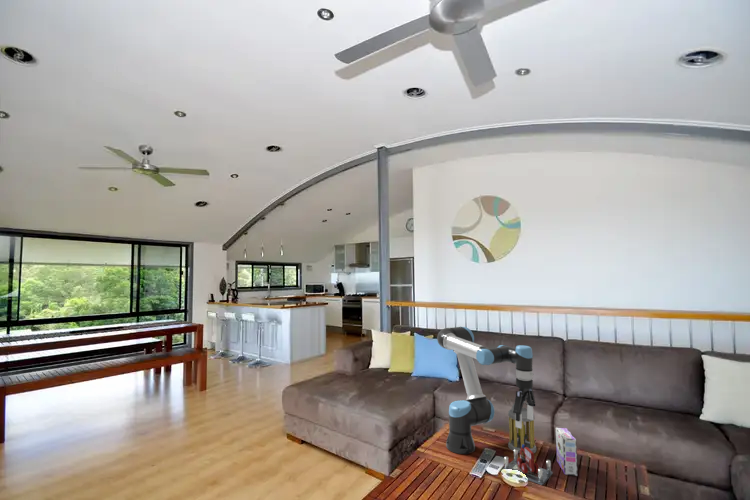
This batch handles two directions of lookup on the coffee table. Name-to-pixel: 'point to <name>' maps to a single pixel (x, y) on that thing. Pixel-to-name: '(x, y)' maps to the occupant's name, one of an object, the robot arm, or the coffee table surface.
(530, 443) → the lantern
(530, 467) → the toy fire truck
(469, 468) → the coffee table surface
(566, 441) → the candy box
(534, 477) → the chassis
